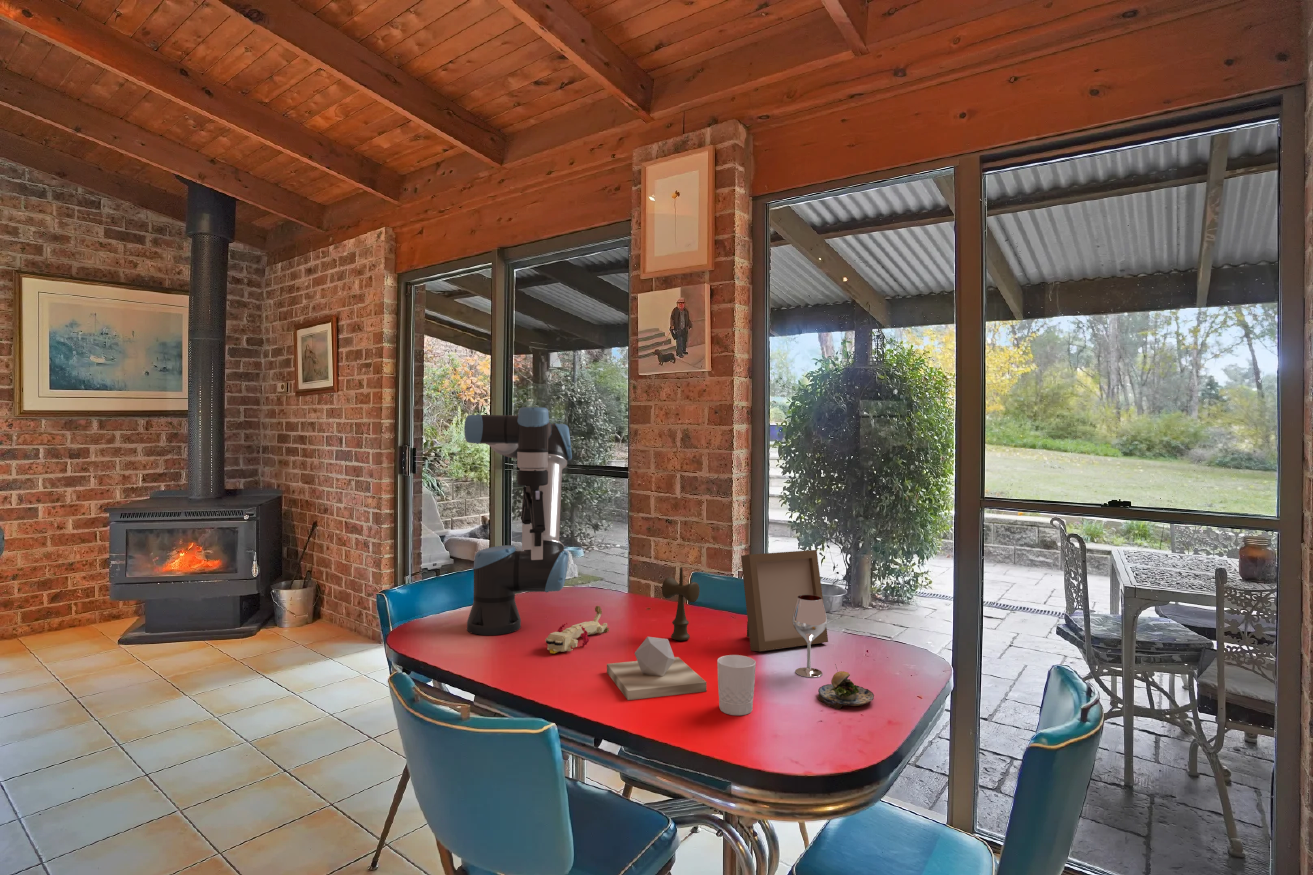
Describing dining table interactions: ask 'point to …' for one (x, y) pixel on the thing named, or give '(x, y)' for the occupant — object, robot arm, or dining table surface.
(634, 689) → the birch board
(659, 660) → the die
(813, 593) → the photo frame
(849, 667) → the dining table surface
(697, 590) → the kendama
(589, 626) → the cat figure
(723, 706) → the white cup
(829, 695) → the burger
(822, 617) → the wineglass
